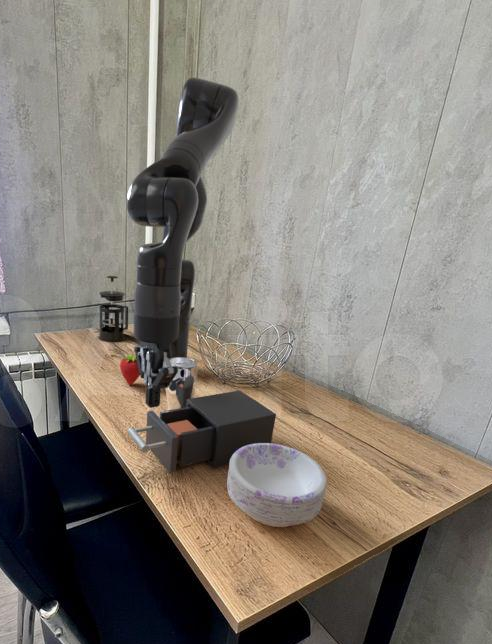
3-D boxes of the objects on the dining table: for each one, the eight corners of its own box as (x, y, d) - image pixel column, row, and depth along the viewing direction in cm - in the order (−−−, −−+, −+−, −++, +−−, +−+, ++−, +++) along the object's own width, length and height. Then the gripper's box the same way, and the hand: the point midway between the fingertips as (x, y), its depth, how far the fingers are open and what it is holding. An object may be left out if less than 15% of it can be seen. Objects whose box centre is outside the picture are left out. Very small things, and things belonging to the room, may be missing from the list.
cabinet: (214, 468, 76) (219, 426, 73) (183, 437, 86) (186, 399, 83) (269, 453, 82) (276, 414, 79) (234, 426, 92) (239, 390, 89)
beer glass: (190, 432, 88) (196, 369, 83) (159, 427, 89) (163, 365, 84) (194, 418, 94) (200, 358, 89) (166, 414, 96) (169, 355, 90)
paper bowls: (259, 553, 57) (267, 509, 54) (208, 489, 70) (212, 450, 67) (338, 527, 63) (350, 485, 60) (278, 472, 76) (285, 435, 73)
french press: (103, 343, 144) (103, 278, 135) (93, 336, 151) (92, 274, 143) (132, 339, 150) (134, 277, 142) (121, 333, 157) (122, 273, 149)
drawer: (145, 479, 70) (146, 443, 67) (123, 448, 79) (123, 415, 76) (226, 458, 78) (231, 425, 75) (198, 432, 87) (201, 401, 84)
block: (165, 444, 79) (166, 423, 78) (185, 439, 81) (186, 419, 80) (176, 456, 76) (178, 435, 74) (197, 451, 78) (199, 430, 76)
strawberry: (135, 378, 115) (136, 345, 111) (146, 388, 109) (147, 353, 105) (115, 380, 112) (116, 347, 109) (125, 391, 106) (126, 356, 103)
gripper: (197, 318, 62) (188, 418, 68) (160, 301, 73) (155, 388, 79) (153, 321, 58) (148, 426, 65) (121, 303, 69) (119, 393, 75)
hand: (152, 405), depth 72 cm, fingers closed
